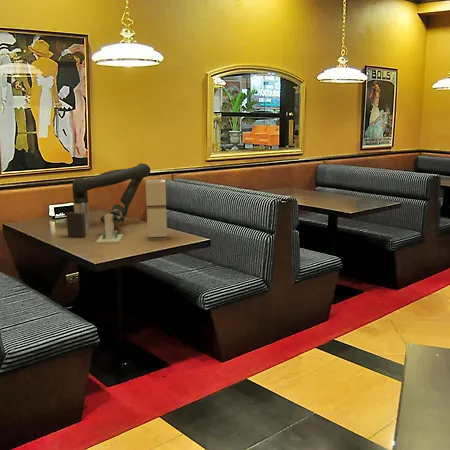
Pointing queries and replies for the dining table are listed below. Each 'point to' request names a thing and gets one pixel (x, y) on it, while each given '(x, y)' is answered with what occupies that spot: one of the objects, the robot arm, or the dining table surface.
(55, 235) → the dining table surface
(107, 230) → the block
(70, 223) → the dark brown upright block
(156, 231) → the beige rectangular tower
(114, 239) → the pin tray
